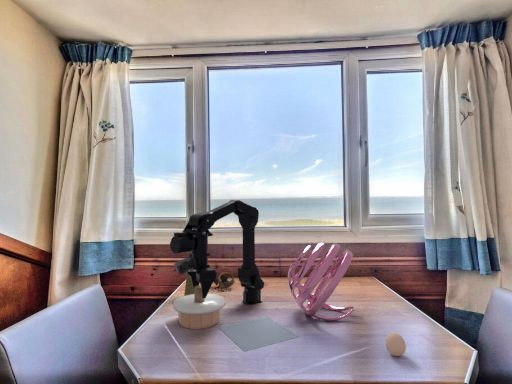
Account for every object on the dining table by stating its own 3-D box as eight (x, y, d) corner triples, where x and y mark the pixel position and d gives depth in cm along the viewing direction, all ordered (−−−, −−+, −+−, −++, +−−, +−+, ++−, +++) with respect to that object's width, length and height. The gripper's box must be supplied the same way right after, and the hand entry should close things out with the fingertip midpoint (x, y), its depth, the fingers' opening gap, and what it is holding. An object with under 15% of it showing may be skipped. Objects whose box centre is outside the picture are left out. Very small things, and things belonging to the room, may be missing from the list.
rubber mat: (267, 317, 112) (267, 316, 112) (299, 338, 95) (299, 336, 96) (218, 328, 103) (218, 327, 103) (244, 353, 86) (244, 351, 86)
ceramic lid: (214, 294, 121) (214, 278, 121) (233, 307, 105) (233, 289, 105) (167, 301, 112) (167, 284, 112) (181, 317, 96) (181, 297, 97)
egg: (410, 358, 83) (409, 336, 83) (393, 361, 82) (393, 338, 82) (397, 349, 88) (397, 328, 88) (381, 351, 87) (381, 330, 87)
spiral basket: (382, 259, 119) (322, 219, 125) (378, 297, 94) (303, 244, 101) (342, 307, 130) (289, 268, 137) (329, 352, 105) (264, 302, 112)
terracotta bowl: (211, 312, 118) (211, 296, 118) (226, 324, 106) (226, 307, 106) (174, 319, 111) (174, 302, 111) (185, 333, 99) (185, 314, 99)
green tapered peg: (194, 299, 133) (194, 273, 133) (181, 298, 134) (181, 273, 135) (200, 295, 139) (200, 270, 139) (187, 294, 140) (187, 270, 141)
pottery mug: (235, 286, 156) (237, 273, 152) (229, 299, 148) (231, 286, 144) (213, 278, 158) (215, 266, 154) (206, 291, 150) (207, 279, 146)
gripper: (170, 248, 113) (169, 291, 113) (184, 256, 97) (184, 306, 97) (199, 245, 119) (199, 286, 118) (217, 253, 103) (217, 300, 102)
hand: (199, 294), depth 109 cm, fingers open, 9 cm apart
